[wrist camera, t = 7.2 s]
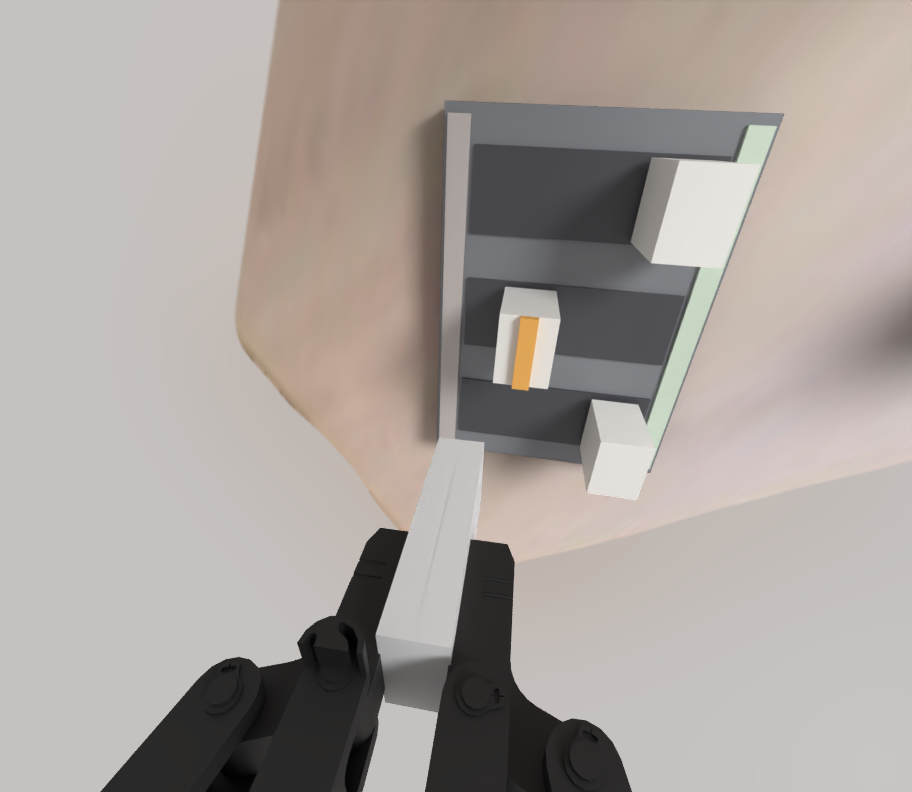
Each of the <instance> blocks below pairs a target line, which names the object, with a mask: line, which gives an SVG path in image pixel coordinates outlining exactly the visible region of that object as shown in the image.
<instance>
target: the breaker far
mask: <svg viewBox="0 0 912 792" xmlns="http://www.w3.org/2000/svg"><path fill="white" fill-rule="evenodd" d="M655 450H656V448H655V445H654V443H653V440H652V438H651V435H650V433H649V430H648V428H647V425H646V423H645V420H644V418H643V415H642V413H641V410H640V408H639V405H637V404H628V403H620V402H611V401H603V400H594V399H592V400H591V404H590V408H589V412H588V416H587V420H586V424H585V428H584V432H583V436H582V440H581V444H580V451H581V458H582V465H583V471H584V478H585V485H586V492H587V493H590V494H597V495H604V496H611V497H618V498H625V499H632V500H637V498H638V496H639V493H640V490H641V488H642V485H643V482H644V479H645V477H646V474H647V471H648V469H649V466H650V463H651V460H652V458H653V455H654V452H655Z"/></svg>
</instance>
